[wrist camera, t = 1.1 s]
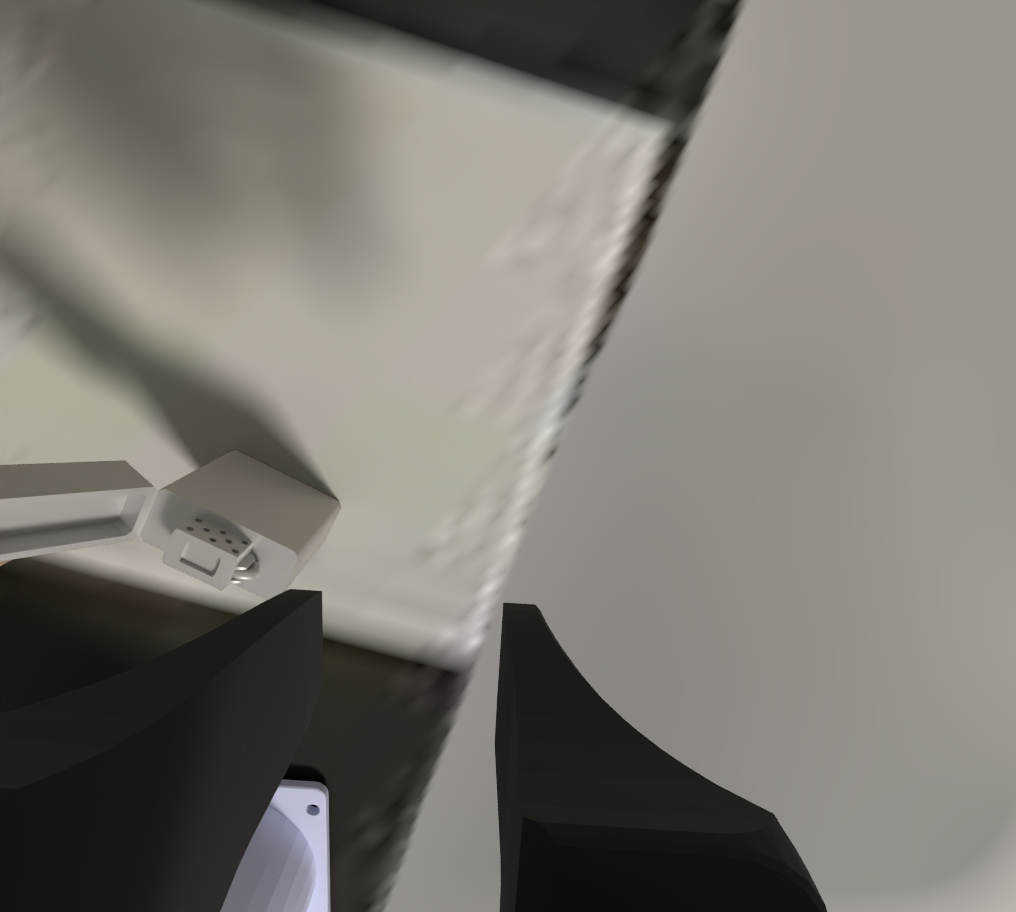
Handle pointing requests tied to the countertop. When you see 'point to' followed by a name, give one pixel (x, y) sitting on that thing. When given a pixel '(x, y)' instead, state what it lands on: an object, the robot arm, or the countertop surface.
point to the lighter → (172, 517)
